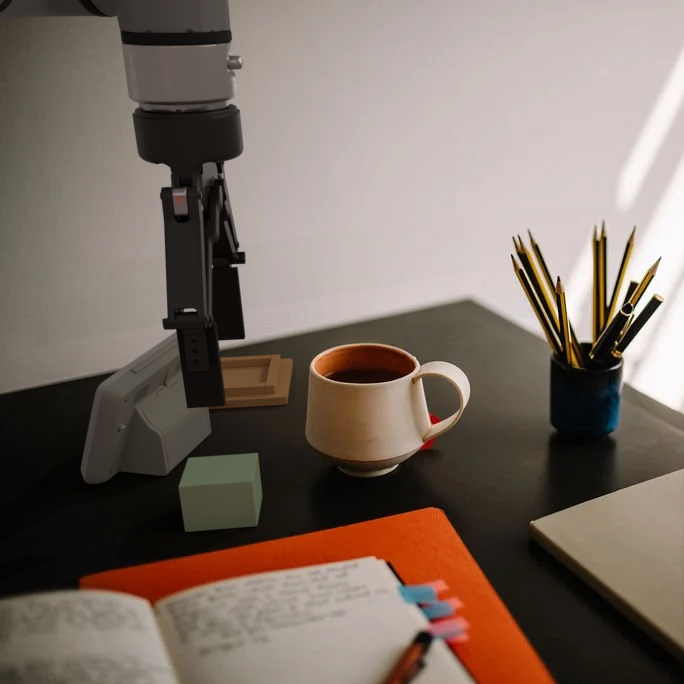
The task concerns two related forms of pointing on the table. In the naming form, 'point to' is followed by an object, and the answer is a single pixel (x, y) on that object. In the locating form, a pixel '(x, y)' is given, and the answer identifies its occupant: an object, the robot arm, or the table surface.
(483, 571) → the table surface
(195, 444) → the digital clock
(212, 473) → the green block
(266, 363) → the socket pad
